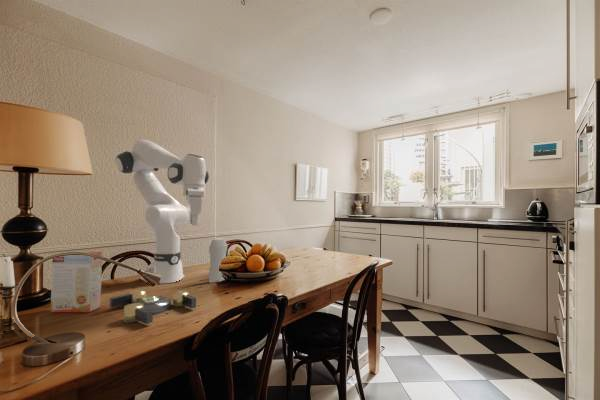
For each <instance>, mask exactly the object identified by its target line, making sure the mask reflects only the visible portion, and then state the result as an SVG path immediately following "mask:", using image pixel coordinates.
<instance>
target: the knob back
mask: <svg viewBox="0 0 600 400" xmlns="http://www.w3.org/2000/svg"><path fill="white" fill-rule="evenodd" d="M143 298H147V290H146V289H142V288H141V289H134V290H131V291H130V292H129V293H126V294H121V295H118V296H117V295H116V296H113V297H109V308H110V309H116V308H120V307H124V306H126V305H129V304H132V303H133V302H135V301H137V300H140V299H143Z"/></svg>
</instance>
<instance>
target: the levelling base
mask: <svg viewBox="0 0 600 400" xmlns="http://www.w3.org/2000/svg"><path fill="white" fill-rule="evenodd" d="M133 303H142V304H143V308H145V309H148V310H151V311H153V316H154V315H157V314H162V313H165V312H166V311H168V310H170V309H171V307H172V304H171V303H172V299H171V298H170V297H168V296H162V295H159V296H156V295H149V296H146V298H143V299H140V300H137V301H135V302H133ZM133 303H132V304H133Z"/></svg>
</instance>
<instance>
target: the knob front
mask: <svg viewBox="0 0 600 400" xmlns="http://www.w3.org/2000/svg"><path fill="white" fill-rule="evenodd" d="M153 316H154V315H153V311H151V310H148V309H145V308H143V304H142V303H133V304H127V305H123V322H124V323H125V324H126V323H127V324H128V323H129V324H130V323H135V322H136V323H137V322H141V323H143V324H146V325H148V324H151V323H153Z"/></svg>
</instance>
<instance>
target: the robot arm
mask: <svg viewBox="0 0 600 400" xmlns="http://www.w3.org/2000/svg"><path fill="white" fill-rule="evenodd" d="M115 165H116V167H117V169H118V170H119V171H120V172H121V173H122V174H132V173H134V174H133V176H132V179H133V182H134V184H135V186H136V189H137V191H138V192H139V193H140V196H141V197H142V198H143V200H144V201H145V202H146V204H147V205H149V207H147V209H145V212H144V219H145V222H146V223H147V224H148V225H149V226H150V227H151V228H152V230H153V233H154V235H155V240H156V241H155V242H156V243H155V246H156V247H155V252H156V253H154V254H153V261H152V262H151V263H149V265H148V266H146V269H144V272H145V271H146V272H154V273H157V274H159V275H161V277H162V278H161V281H160V283H159V284H170V283H171V284H172V283H176V281H177V282H179V280H180V281H182V280H183V279H182V278H184V277H185V274H184V273H183V272H184V271H183V261H181V256H182V254H181V250H180V249H181V238H180V235H179V234H177V233H176V231H175V228H174V226H180V225H183V224H186V223H187V222H189V223H190V224H191V225H192V226H194V227H195V226H197V225H198V218H199V217H198V216H199V215H201V213H202V206H203V197H206V184H207V183H208V181H209V179H210V174H209V172H208V171H209V170H207V166H206V160H205V157H203V156H201V155H196V154H192V153H187V154H185V155H184V158H180V157H179V156H176V155H175V154H173V153H172V152H170V151H168V150H167V149H165V148H164V147H162V146H160V145H159V144H157V142H154V141H151V140H149V139H144V138H143V139H138V140H137V141H135V142H134V143H133V146H132V150H130V151H128V150H126V151H123V152H121V153H119V154H117V156H116V157H115ZM161 169H162V170H167V178H168V180H169V182H170V183H171V184H175V185H176V186H177V185H179V186H182V189H183V190H182V196H184V197H186V198H185V200H186V201H187V206H185V205H183V204H181V203H180V202H179V201H178V200H176V199H175V198H174V197H173V196H172V195H171V194H169V193H168V191H167V190H166V188H165V187H164V186H163V185H162V183H161V182H160V180H159V179H158V178H157V176H156V175H155V172H158V171H159V170H161ZM140 279H141V280H142V281H144V282H145V283H147V282H146V281H145V280H144V279H143V278H142V276H140ZM181 279H182V280H181Z"/></svg>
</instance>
